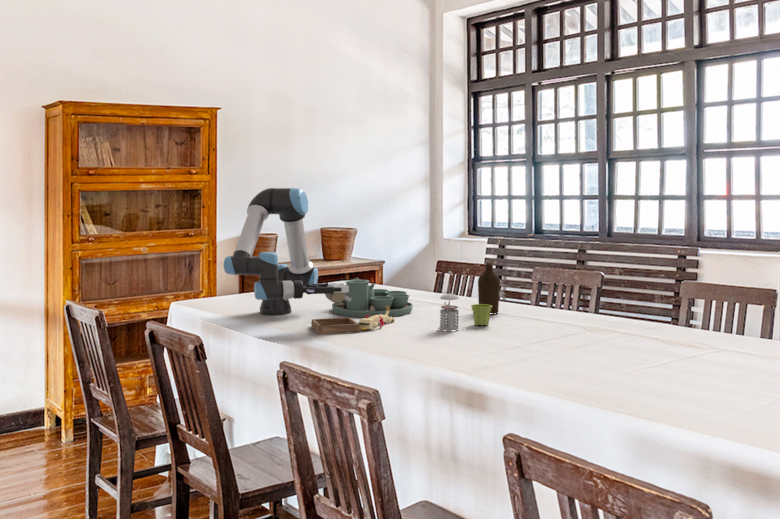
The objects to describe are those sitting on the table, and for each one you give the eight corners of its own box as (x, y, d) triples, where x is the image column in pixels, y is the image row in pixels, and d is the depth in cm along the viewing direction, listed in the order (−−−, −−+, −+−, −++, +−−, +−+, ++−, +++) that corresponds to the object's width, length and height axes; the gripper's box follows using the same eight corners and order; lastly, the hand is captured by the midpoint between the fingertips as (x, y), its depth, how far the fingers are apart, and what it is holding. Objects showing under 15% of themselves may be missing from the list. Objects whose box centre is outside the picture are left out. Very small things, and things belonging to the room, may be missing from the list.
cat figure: (378, 324, 312) (351, 328, 289) (379, 304, 312) (352, 308, 289) (398, 325, 307) (372, 330, 285) (399, 306, 307) (373, 309, 285)
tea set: (414, 318, 320) (415, 283, 319) (328, 318, 319) (328, 283, 318) (411, 305, 360) (411, 273, 358) (334, 305, 359) (334, 273, 358)
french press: (463, 328, 295) (463, 270, 293) (456, 333, 285) (457, 273, 282) (441, 326, 299) (441, 269, 296) (433, 331, 288) (434, 272, 286)
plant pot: (466, 325, 302) (466, 305, 302) (478, 322, 309) (479, 303, 309) (483, 327, 296) (484, 307, 295) (496, 325, 303) (496, 305, 302)
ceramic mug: (329, 303, 285) (329, 285, 284) (324, 301, 293) (324, 283, 292) (353, 303, 288) (354, 284, 288) (348, 300, 296) (348, 282, 296)
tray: (311, 326, 297) (311, 319, 296) (349, 324, 302) (349, 317, 301) (319, 334, 280) (319, 326, 280) (359, 332, 286) (359, 324, 285)
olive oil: (502, 314, 330) (503, 262, 328) (481, 315, 328) (481, 263, 326) (495, 311, 340) (496, 260, 338) (474, 311, 339) (475, 261, 337)
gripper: (288, 295, 294) (340, 293, 301) (297, 302, 274) (352, 300, 281) (288, 277, 294) (340, 276, 300) (296, 283, 274) (352, 281, 281)
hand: (346, 287), depth 291 cm, fingers closed on ceramic mug, 8 cm apart
